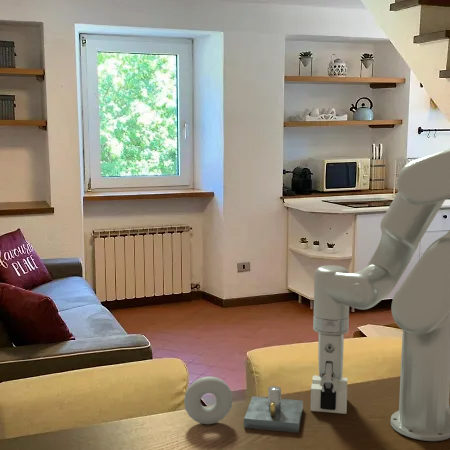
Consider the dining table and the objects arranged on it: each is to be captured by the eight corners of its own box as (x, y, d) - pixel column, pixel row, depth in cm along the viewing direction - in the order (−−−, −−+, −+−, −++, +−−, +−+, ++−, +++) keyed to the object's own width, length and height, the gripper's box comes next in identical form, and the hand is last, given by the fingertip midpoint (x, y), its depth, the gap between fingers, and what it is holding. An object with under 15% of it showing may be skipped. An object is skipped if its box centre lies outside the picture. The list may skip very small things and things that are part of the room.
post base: (302, 409, 136) (303, 380, 135) (298, 432, 125) (299, 401, 124) (252, 405, 138) (252, 376, 137) (244, 427, 127) (244, 397, 127)
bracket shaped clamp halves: (346, 399, 141) (347, 377, 141) (346, 413, 134) (347, 391, 133) (312, 396, 143) (313, 375, 142) (310, 410, 135) (310, 388, 135)
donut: (231, 418, 132) (231, 372, 130) (233, 425, 128) (233, 378, 127) (183, 421, 130) (183, 375, 129) (184, 428, 127) (184, 381, 126)
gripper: (348, 337, 127) (345, 420, 129) (348, 313, 143) (346, 386, 146) (310, 334, 128) (308, 416, 131) (315, 311, 145) (313, 384, 147)
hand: (328, 400), depth 138 cm, fingers closed on bracket shaped clamp halves, 7 cm apart
